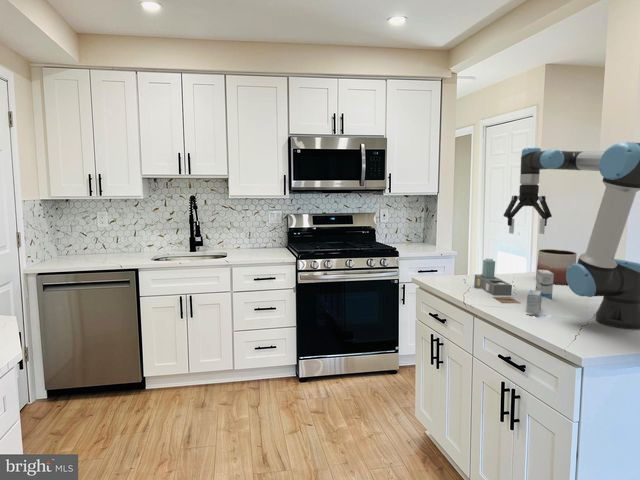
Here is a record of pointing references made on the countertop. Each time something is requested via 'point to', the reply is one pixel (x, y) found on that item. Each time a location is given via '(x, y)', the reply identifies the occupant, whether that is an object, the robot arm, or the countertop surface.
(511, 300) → the brown flat block
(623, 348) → the countertop surface
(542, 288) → the ink box
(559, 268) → the planter
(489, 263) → the plug
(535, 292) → the medicine box
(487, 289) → the socket strip
